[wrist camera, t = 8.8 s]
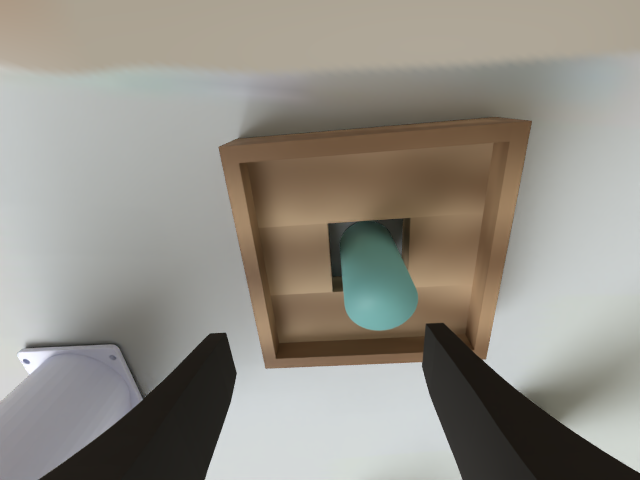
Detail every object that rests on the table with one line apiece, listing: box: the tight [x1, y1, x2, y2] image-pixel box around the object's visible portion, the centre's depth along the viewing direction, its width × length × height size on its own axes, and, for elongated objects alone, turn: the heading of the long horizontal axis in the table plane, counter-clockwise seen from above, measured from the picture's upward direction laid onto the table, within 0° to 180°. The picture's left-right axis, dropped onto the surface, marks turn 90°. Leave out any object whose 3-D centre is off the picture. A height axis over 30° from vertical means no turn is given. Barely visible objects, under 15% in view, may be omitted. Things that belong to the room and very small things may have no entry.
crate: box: [219, 117, 532, 369], centre depth 18 cm, size 14×14×3 cm
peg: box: [340, 221, 418, 331], centre depth 17 cm, size 3×3×6 cm
